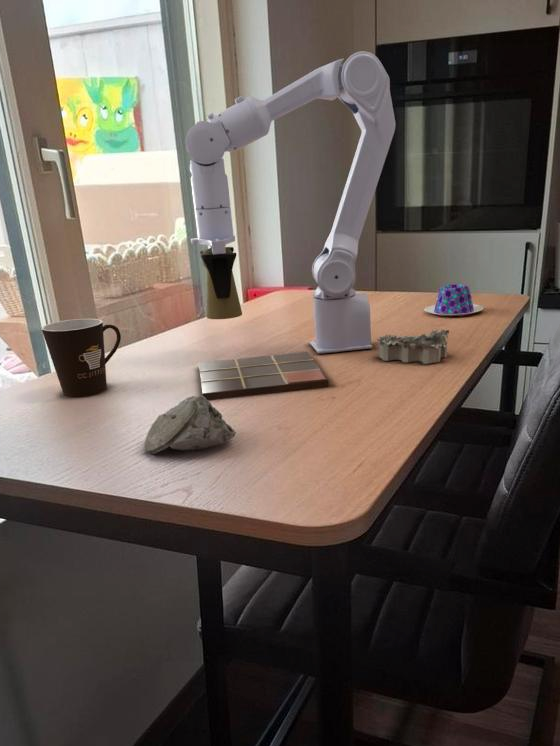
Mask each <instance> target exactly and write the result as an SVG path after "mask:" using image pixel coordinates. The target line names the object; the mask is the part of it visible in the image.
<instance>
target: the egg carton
mask: <svg viewBox="0 0 560 746" xmlns="http://www.w3.org/2000/svg"><path fill="white" fill-rule="evenodd" d="M449 335H450V330H449V329H445V330H444V329H440V330H438V329H437V330H432V331H431V332H430V334H427V333H421V334H420V335H412V334H411V335H403V336H399V337H397V334H395V335H392V334H385V335H384V336H379V337H378V338H376V340H377V341H378V345H377V347H378V358H380V359H381V360H382V361H384V362H390V361H393V360H394V361H395V360H396V361H397V360H398V361H401V362H402V363H412V362H421V363H422V364H423V365H428V364H437V363H439V362H441V358H447V356H448V340H447V338H448V337H449Z"/></svg>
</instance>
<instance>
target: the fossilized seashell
mask: <svg viewBox="0 0 560 746" xmlns="http://www.w3.org/2000/svg"><path fill="white" fill-rule="evenodd" d="M236 433H237V431H236V430H235V429H234V428H233V427H232V426H231V425H230V424H228V423H227V422H226V421H225V419H223V414H222V413H221V412H220V411H219V410H217V408H216V407H214V406H213V405H212V403H211V402H210V401H209V400H207V399H206V398H205V397H203V396H195V395H193V396H188V397H186V398H185V399H183V400H181V401H180V402H178V405H175V406H173V407H172V408H170V409H169V410H167V411H165V412H164V413H162V414H159V415H158V416H157V418H156V419H155V420H154V422H153V423H152V424H151V426H150V428H149V430H148V432H147V434H146V437H145V440H144V449H145V451H147V452H148V453H149V454H151V455H152V454H157V453H159V452H162V451H164V450H166V449H167V448H171V449H173V450H179V451H196V450H203V449H208V448H211V447H216V446H217V445H218V446H219V445H220V444H223V443H225V442H228V441H229V440H232V439H233V438H234V437H235V436H236Z"/></svg>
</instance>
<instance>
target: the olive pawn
mask: <svg viewBox="0 0 560 746" xmlns="http://www.w3.org/2000/svg"><path fill="white" fill-rule="evenodd" d="M226 247H227V246H225V250H226V253H234V251H233V252H232V251H231V249H229V248H226ZM203 251H204V250H203ZM203 253H212V248H211V247H209V248H207V249H205V251H204V252H203ZM201 262H202V265H203V267H204V268H205V269H206V319H208V320H229V319H235V318H239V317H241V316H243V311H242V307H241V303H240V298H239V294H238V289H237V285H236V282H235V281H236V280H235V277H234V273H233V272H234V271H232V275H231V292H230V297H229V298H219V299H217V297H216V294H215V291H214V288H213V284H212V280H211V277H210V274H209V271H208V269H207V267H206V265H205V263H204V261H203V260H202V259H201Z"/></svg>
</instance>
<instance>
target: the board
mask: <svg viewBox="0 0 560 746" xmlns="http://www.w3.org/2000/svg"><path fill="white" fill-rule="evenodd" d="M198 367H199V376H200V385H201V392H202V397H205V398H206V399H207V400H208V401H209V400H218V399H219V400H220V399H226V398H227V399H228V398H236V397H246V396H254V395H265V394H273V393H283V392H291V391H301V390H310V389H311V390H312V389H319V388H329V387H330V384H329V379H328V378H327V376H326V375H325V374H324V372H323V371H322V369H321V368H320V367H319V365H318V364H317V363H316V361H315V359H314V358H313V357H312V356H311V355H310V353H309V352H308V351H302V352H291V353H281V354H280V353H279V354H270V355H261V356H252V357H250V356H249V357H242V358H241V357H240V358H236V357H235V358H230V359H222V360H211V361H201V362H198Z"/></svg>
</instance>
